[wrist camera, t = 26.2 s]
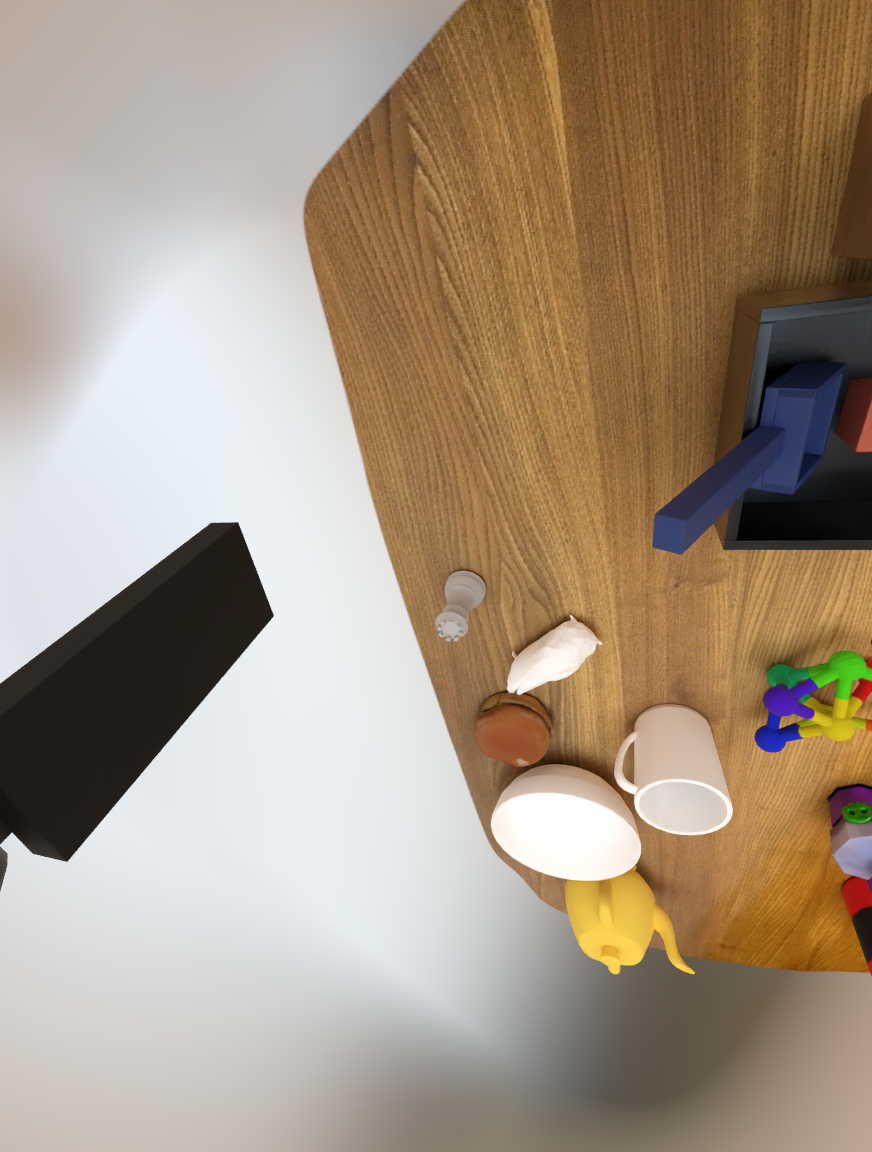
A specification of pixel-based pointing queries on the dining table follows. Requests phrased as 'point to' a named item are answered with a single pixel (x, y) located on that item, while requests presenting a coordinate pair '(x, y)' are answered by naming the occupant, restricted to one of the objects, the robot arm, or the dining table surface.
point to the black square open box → (844, 477)
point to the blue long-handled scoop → (760, 454)
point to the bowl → (566, 824)
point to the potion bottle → (852, 830)
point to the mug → (676, 772)
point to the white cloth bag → (552, 656)
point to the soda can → (860, 913)
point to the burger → (513, 729)
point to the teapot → (618, 920)
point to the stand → (858, 195)
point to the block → (857, 416)
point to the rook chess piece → (459, 603)
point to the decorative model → (815, 701)
